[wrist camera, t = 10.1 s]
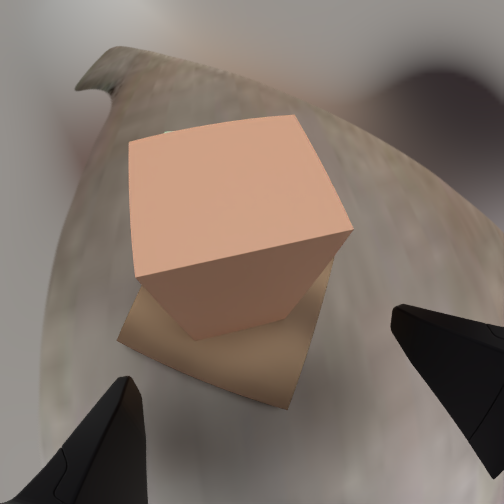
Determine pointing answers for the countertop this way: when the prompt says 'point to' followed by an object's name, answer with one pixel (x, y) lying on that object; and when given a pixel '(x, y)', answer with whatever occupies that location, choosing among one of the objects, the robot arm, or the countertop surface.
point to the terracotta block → (231, 222)
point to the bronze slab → (231, 347)
